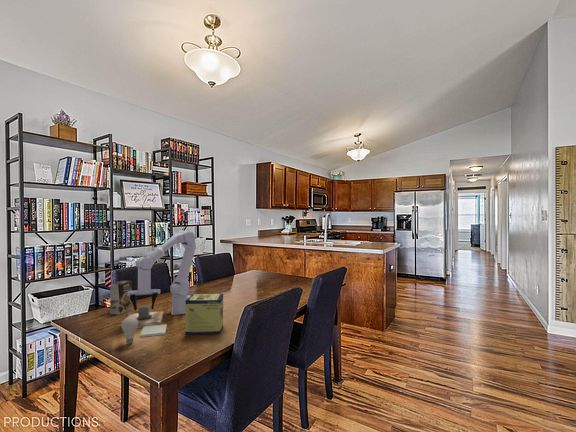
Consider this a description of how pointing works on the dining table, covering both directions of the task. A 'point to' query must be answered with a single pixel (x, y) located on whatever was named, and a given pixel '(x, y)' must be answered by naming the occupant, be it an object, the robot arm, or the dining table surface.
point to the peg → (144, 312)
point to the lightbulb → (129, 328)
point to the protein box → (204, 314)
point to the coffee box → (120, 297)
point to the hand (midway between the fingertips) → (144, 309)
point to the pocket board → (153, 321)
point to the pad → (153, 330)
